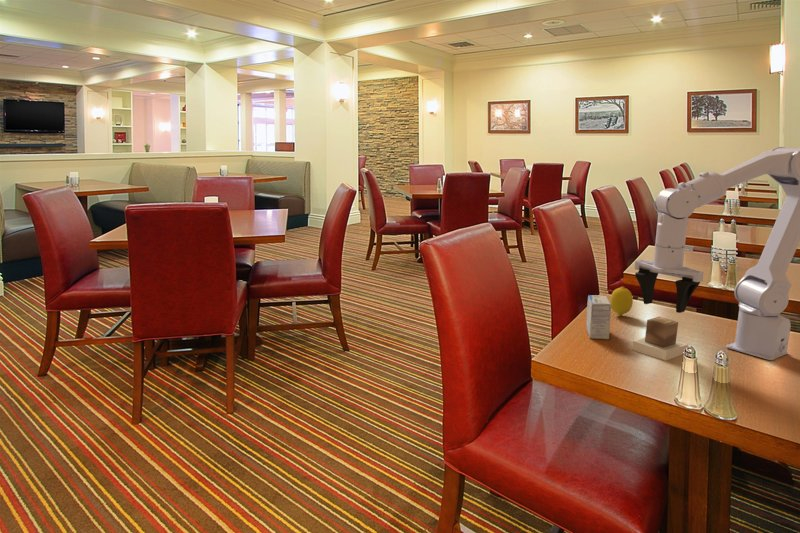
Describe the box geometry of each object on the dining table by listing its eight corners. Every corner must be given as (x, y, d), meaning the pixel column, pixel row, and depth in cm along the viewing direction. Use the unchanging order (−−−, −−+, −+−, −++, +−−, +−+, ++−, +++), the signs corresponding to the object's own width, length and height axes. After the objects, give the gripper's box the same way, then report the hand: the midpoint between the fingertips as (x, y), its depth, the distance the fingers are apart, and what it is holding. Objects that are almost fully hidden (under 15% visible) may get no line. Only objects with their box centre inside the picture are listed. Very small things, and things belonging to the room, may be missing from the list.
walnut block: (675, 343, 124) (678, 321, 123) (663, 347, 122) (666, 325, 121) (656, 337, 128) (659, 315, 127) (644, 341, 126) (647, 319, 124)
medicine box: (609, 340, 133) (612, 304, 131) (589, 338, 134) (591, 303, 132) (604, 329, 140) (606, 295, 138) (585, 328, 141) (587, 294, 139)
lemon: (615, 311, 155) (618, 282, 153) (635, 316, 151) (638, 286, 149) (604, 315, 151) (607, 286, 149) (624, 320, 147) (627, 290, 145)
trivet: (686, 355, 125) (687, 344, 124) (665, 362, 120) (666, 351, 120) (652, 344, 131) (654, 333, 131) (631, 351, 127) (632, 340, 126)
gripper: (628, 242, 124) (623, 302, 127) (692, 253, 112) (685, 319, 115) (647, 239, 128) (642, 297, 131) (711, 249, 116) (704, 313, 119)
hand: (663, 307), depth 124 cm, fingers open, 7 cm apart
